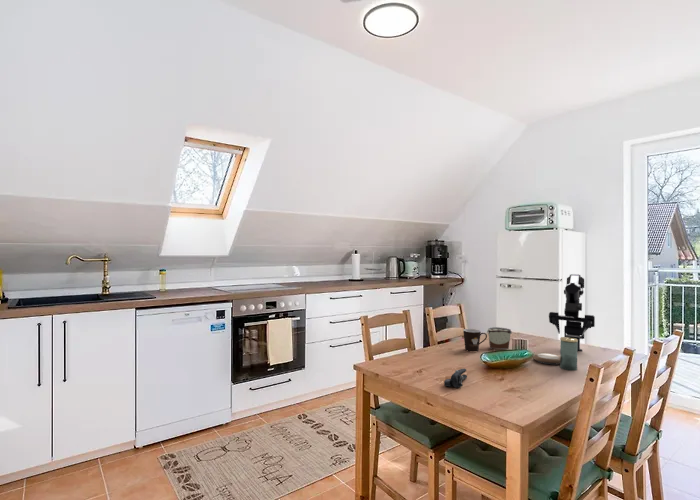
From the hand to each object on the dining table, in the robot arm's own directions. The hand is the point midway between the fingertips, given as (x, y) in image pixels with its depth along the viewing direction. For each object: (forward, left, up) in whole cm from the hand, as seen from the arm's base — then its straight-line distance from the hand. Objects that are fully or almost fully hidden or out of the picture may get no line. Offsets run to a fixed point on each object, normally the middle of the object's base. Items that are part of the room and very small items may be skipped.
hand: (570, 334), depth 191 cm
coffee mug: (-17, -39, -14) cm, 45 cm away
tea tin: (+8, -3, -13) cm, 16 cm away
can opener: (+35, -53, -14) cm, 65 cm away
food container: (-26, -26, -14) cm, 40 cm away
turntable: (-2, -9, -12) cm, 15 cm away
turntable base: (-2, -9, -13) cm, 16 cm away
